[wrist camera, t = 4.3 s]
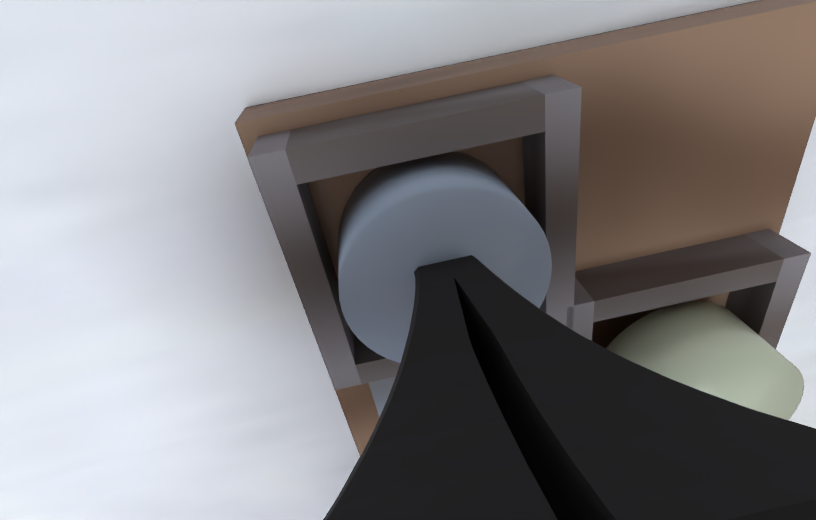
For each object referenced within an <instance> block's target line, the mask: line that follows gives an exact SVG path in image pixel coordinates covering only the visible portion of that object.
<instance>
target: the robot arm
mask: <svg viewBox="0 0 816 520" xmlns="http://www.w3.org/2000/svg"><path fill="white" fill-rule="evenodd" d="M414 275H415V298H414V307H413V312H412V318H411V324H410V329H409V333H408V337H407V341H406V344H405V348H404V352H403V356H402V359H401V362H400V366H399V369H398V372H397V375H396V378H395V380H394V383H393V386H392V388H391V391H390V394H389V396H388V399H387V401H386V404H385V406H384V408H383V410H382V413H381V415H380V417H379V420H378V422H377V424H376V426H375V429H374V431H373V433H372V435H371V437H370V439H369V441H368V443H367V445H366V447H365V449H364V451H363V453H362V454H361V456H360V458H359V460H358V462H357V463H356V465H355V467H354V469H353V471H352V472H351V474H350V476H349V478H348V480H347V482H346V483H345V485H344V487H343V489H342V491H341V492H340V494H339V496H338V497H337V499H336V501H335V502H334V504H333V506H332V507H331V509H330V510H329V512H328V513H327V515H326V516H325V518H324V519H323V520H816V429H815V428H811V427H808V426H805V425H802V424H798V423H795V422H792V421H789V420H785V419H782V418H779V417H776V416H772V415H769V414H766V413H763V412H759V411H756V410H753V409H750V408H747V407H744V406H741V405H738V404H736V403H733V402H730V401H727V400H725V399H722V398H719V397H717V396H714V395H711V394H708V393H706V392H703V391H700V390H697V389H695V388H692V387H690V386H687V385H685V384H682V383H680V382H677V381H675V380H672V379H670V378H668V377H665V376H663V375H661V374H659V373H656V372H654V371H652V370H650V369H647V368H645V367H643V366H641V365H638V364H636V363H634V362H632V361H630V360H628V359H625V358H623V357H621V356H619V355H617V354H615V353H613V352H611V351H609V350H607V349H606V348H604V347H602V346H600V345H598V344H596V343H594V342H593V341H591V340H589V339H587V338H585V337H583V336H581V335H580V334H578V333H576V332H575V331H573V330H571V329H570V328H568V327H567V326H565V325H563V324H562V323H560V322H559V321H557V320H556V319H554V318H553V317H551V316H550V315H548V314H547V313H545V312H544V311H542V310H541V309H539V308H538V307H537V306H535V305H534V304H533V303H531V302H530V301H528V300H527V299H526V298H524V297H523V296H522V295H520V294H519V293H518V292H516V291H515V290H514V289H512V288H511V287H510V286H509V285H507V284H506V283H505V282H504V281H503V280H501V279H500V278H499V277H498V276H496V275H495V274H494V273H493V272H492V271H491V270H489V269H488V268H487V267H486V266H485V265H484V264H483V263H481V262H480V261H479V260H478V259H477V258H475V257H474V256H472V255H470V256H465V257H461V258H456V259H452V260H447V261H442V262H438V263H433V264H429V265H424V266H420V267H418V268H417V269H416V270H415V271H414Z"/></svg>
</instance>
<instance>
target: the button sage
mask: <svg viewBox="0 0 816 520" xmlns="http://www.w3.org/2000/svg"><path fill="white" fill-rule="evenodd" d="M606 349H607V350H609V351H611V352H613V353H615V354H617V355H619V356H621V357H623V358H625V359H628V360H630V361H632V362H634V363H636V364H638V365H641V366H643V367H645V368H647V369H650V370H652V371H654V372H656V373H659V374H661V375H663V376H665V377H668V378H670V379H672V380H675V381H677V382H680V383H682V384H685V385H687V386H690V387H692V388H695V389H697V390H700V391H703V392H706V393H708V394H711V395H714V396H717V397H719V398H722V399H725V400H727V401H730V402H733V403H736V404H738V405H741V406H744V407H747V408H750V409H753V410H756V411H759V412H763V413H766V414H769V415H772V416H776V417H779V418H782V419H785V420H789V419H790V418H791V416H792V415H793V413H794V412H795V411H796V409H797V407H798V405H799V403H800V401H801V398H802V396H803V391H804V380H803V377H802V374H801V372H800V371H799V369H798V368H797V367H796V366H795V365H793V364H792V363H791V362H790V361H789V360H788V359H786V358H785V357H784V356H783V355H782V354H780V353H779V352H778V351H777V350H776V349H774V348H773V347H772V346H771V345H770V344H769V343H767V342H766V341H765V340H764V339H763V338H761V337H760V336H759V335H758V334H757V333H756V332H754V331H753V330H752V329H751V328H750V327H748V326H747V325H746V324H745V323H744V322H743V321H741V320H740V319H739V318H738V317H737V316H735V315H734V314H733V313H732V312H731V311H730V310H728V309H727V308H725V307H723V306H721V305H718V304H716V303H711V302H703V301H693V302H684V303H678V304H674V305H670V306H667V307H664V308H661V309H659V310H656V311H654V312H652V313H650V314H648V315H646V316H644V317H642V318H641V319H639V320H637V321H636V322H634V323H633V324H631V325H630V326H628V327H627V328H626V329H625V330H623V331H622V332H621V333H620V334H619V335H618V336H617V337H616V338H615V339H614V340H613V341H612V342H611V343H610V344H609V345H608V347H607V348H606Z"/></svg>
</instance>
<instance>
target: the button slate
mask: <svg viewBox="0 0 816 520" xmlns="http://www.w3.org/2000/svg"><path fill="white" fill-rule="evenodd" d="M470 255H472V256H474V257H475V258H477V259H478V260H479V261H480V262H481V263H483V264H484V265H485V266H486V267H487V268H488V269H489V270H491V271H492V272H493V273H494V274H495V275H496V276H498V277H499V278H500V279H501V280H503V281H504V282H505V283H506V284H507V285H509V286H510V287H511V288H512V289H514V290H515V291H516V292H518V293H519V294H520V295H522V296H523V297H524V298H526V299H527V300H528V301H530V302H531V303H533V304H534V305H535V306H537V307H538V308H540V306H541V304H542V303H543V301H544V299H545V296H546V293H547V291H548V288H549V284H550V279H551V272H552V259H551V251H550V247H549V243H548V240H547V238H546V236H545V233H544V231H543V230H542V228H541V227H540V225H539V223H538V222H537V221H536V219H535V218H534V217H533V216H532V215H531V213H530V212H529V211H528V210H527V209H526V207H525V206H524V205H523V204H522V202H521V201H520V200H519V199H518V198H517V196H516V195H515V194H514V193H513V192H512V190H511V189H510V188H509V187H508V186H507V184H506V183H505V182H504V181H503V180H502V178H501V177H500V176H499V175H498V174H497V173H496V172H495V171H494V170H493V169H491V168H490V167H489V166H488V165H486V164H484V163H483V162H481V161H479V160H478V159H476V158H473V157H471V156H468V155H466V154H462V153H458V152H454V151H453V152H448V153H443V154H438V155H434V156H429V157H424V158H420V159H415V160H410V161H406V162H401V163H396V164H392V165H387V166H382V167H379V168H378V169H376V170H375V171H374V172H372V173H371V174H370V175H368V176H367V177H366V178H365V179H364V180H363V181H362V182H361V183H360V184H359V186H358V187H357V188H356V190H355V191H354V192H353V193H352V195H351V197H350V199H349V200H348V202H347V204H346V206H345V208H344V211H343V213H342V216H341V221H340V225H339V234H338V273H339V301H340V305H341V309H342V313H343V315H344V317H345V320H346V322H347V324H348V325H349V327H350V329H351V330H352V332H353V333H354V334H355V335H356V336H357V338H358V339H359V340H360V341H361V342H362V343H363V344H365V345H366V346H367V347H368V348H370V349H371V350H373V351H374V352H376V353H377V354H379V355H381V356H383V357H385V358H387V359H390V360H392V361H395V362H398V363H400V362H401V359H402V356H403V352H404V348H405V344H406V341H407V337H408V333H409V329H410V324H411V318H412V312H413V307H414V298H415V275H414V271H415V270H416V269H417V268H418V267H420V266H424V265H429V264H433V263H438V262H442V261H447V260H452V259H456V258H461V257H465V256H470Z"/></svg>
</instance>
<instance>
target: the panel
mask: <svg viewBox="0 0 816 520" xmlns="http://www.w3.org/2000/svg"><path fill="white" fill-rule="evenodd" d="M815 117H816V0H759V1H755V2H750V3H745V4H740V5H735V6H731V7H726V8H721V9H716V10H711V11H707V12H702V13H697V14H692V15H688V16H683V17H678V18H673V19H668V20H664V21H659V22H654V23H649V24H644V25H640V26H635V27H630V28H625V29H621V30H616V31H611V32H606V33H601V34H597V35H592V36H587V37H582V38H577V39H573V40H568V41H563V42H558V43H553V44H549V45H544V46H539V47H534V48H530V49H525V50H520V51H515V52H510V53H506V54H501V55H496V56H491V57H486V58H482V59H477V60H472V61H467V62H463V63H458V64H453V65H448V66H443V67H439V68H434V69H429V70H424V71H419V72H415V73H410V74H405V75H400V76H396V77H391V78H386V79H381V80H376V81H372V82H367V83H362V84H357V85H352V86H348V87H343V88H338V89H333V90H328V91H324V92H319V93H314V94H309V95H305V96H300V97H295V98H290V99H285V100H281V101H276V102H271V103H266V104H261V105H257V106H252V107H247V108H245V109H244V111H243V112H242V114H241V115H240V117H239V118H238V119H237V121H236V122H235V125H236V128H237V131H238V133H239V136H240V139H241V141H242V144H243V147H244V149H245V152H246V155H247V158H248V161H249V164H250V166H251V169H252V172H253V174H254V177H255V180H256V182H257V185H258V187H259V190H260V193H261V195H262V198H263V201H264V203H265V206H266V209H267V211H268V214H269V217H270V219H271V222H272V225H273V227H274V230H275V233H276V235H277V238H278V240H279V243H280V246H281V248H282V251H283V254H284V256H285V259H286V262H287V264H288V267H289V270H290V272H291V275H292V278H293V280H294V283H295V285H296V288H297V291H298V293H299V296H300V299H301V301H302V304H303V307H304V309H305V312H306V315H307V317H308V320H309V323H310V325H311V328H312V331H313V333H314V336H315V338H316V341H317V344H318V346H319V349H320V352H321V354H322V357H323V360H324V362H325V365H326V368H327V370H328V373H329V376H330V378H331V381H332V384H333V386H334V389H335V391H336V393H337V396H338V399H339V401H340V404H341V407H342V409H343V412H344V415H345V417H346V420H347V423H348V425H349V428H350V431H351V433H352V436H353V439H354V441H355V444H356V447H357V449H358V452H359V454H360V456H361V454H362V453H363V451H364V449H365V447H366V445H367V443H368V441H369V439H370V437H371V435H372V433H373V431H374V429H375V426H376V424H377V422H378V420H379V417H380V415H381V413H382V410H383V408H384V406H385V404H386V401H387V399H388V396H389V394H390V391H391V388H392V386H393V383H394V380H395V378H396V375H397V372H398V369H399V366H400V363H398V362H395V361H392V360H390V359H387V358H385V357H383V356H381V355H379V354H377V353H376V352H374V351H373V350H371V349H370V348H368V347H367V346H366V345H365V344H363V343H362V342H361V341H360V340H359V339H358V338H357V336H356V335H355V334H354V333H353V332H352V330H351V329H350V327H349V325H348V324H347V322H346V320H345V317H344V315H343V313H342V309H341V305H340V301H339V273H338V234H339V225H340V221H341V216H342V213H343V211H344V208H345V206H346V204H347V202H348V200H349V199H350V197H351V195H352V193H353V192H354V191H355V190H356V188H357V187H358V186H359V184H360V183H361V182H362V181H363V180H364V179H365V178H366V177H367V176H368V175H370V174H371V173H372V172H374V171H375V170H376V169H378V168H379V167H382V166H387V165H392V164H396V163H401V162H406V161H410V160H415V159H420V158H424V157H429V156H434V155H438V154H443V153H448V152H453V151H454V152H458V153H462V154H466V155H468V156H471V157H473V158H476V159H478V160H479V161H481V162H483V163H484V164H486V165H488V166H489V167H490V168H491V169H493V170H494V171H495V172H496V173H497V174H498V175H499V176H500V177H501V178H502V180H503V181H504V182H505V183H506V184H507V186H508V187H509V188H510V189H511V190H512V192H513V193H514V194H515V195H516V196H517V198H518V199H519V200H520V201H521V202H522V204H523V205H524V206H525V207H526V209H527V210H528V211H529V212H530V213H531V215H532V216H533V217H534V218H535V219H536V221H537V222H538V223H539V225H540V227H541V228H542V230H543V231H544V233H545V236H546V238H547V240H548V243H549V247H550V251H551V259H552V272H551V279H550V284H549V288H548V291H547V293H546V296H545V299H544V301H543V303H542V304H541V306H540V308H539V309H541V310H542V311H544V312H545V313H547V314H548V315H550V316H551V317H553V318H554V319H556V320H557V321H559V322H560V323H562V324H563V325H565V326H567V327H568V328H570V329H571V330H573V331H575V332H576V333H578V334H580V335H581V336H583V337H585V338H587V339H589V340H591V341H593V342H594V343H596V344H598V345H600V346H602V347H604V348H607V347H608V345H609V344H610V343H611V342H612V341H613V340H614V339H615V338H616V337H617V336H618V335H619V334H620V333H621V332H622V331H623V330H625V329H626V328H627V327H628V326H630V325H631V324H633V323H634V322H636V321H637V320H639V319H641V318H642V317H644V316H646V315H648V314H650V313H652V312H654V311H656V310H659V309H661V308H664V307H667V306H670V305H674V304H678V303H684V302H693V301H703V302H711V303H716V304H718V305H721V306H723V307H725V308H727V309H728V310H730V311H731V312H732V313H733V314H734V315H735V316H737V317H738V318H739V319H740V320H741V321H743V322H744V323H745V324H746V325H747V326H748V327H750V328H751V329H752V330H753V331H754V332H756V333H757V334H758V335H759V336H760V337H761V338H763V339H764V340H765V341H766V342H767V343H769V344H770V345H771V346H772V347H773V348H774V349H776V347H777V344H778V342H779V339H780V336H781V333H782V331H783V328H784V325H785V323H786V320H787V317H788V314H789V312H790V309H791V306H792V303H793V301H794V298H795V295H796V293H797V290H798V287H799V284H800V282H801V279H802V276H803V274H804V271H805V268H806V265H807V263H808V260H809V257H810V254H811V253H810V252H808V251H807V250H805V249H803V248H802V247H800V246H798V245H796V244H795V243H793V242H791V241H789V240H788V239H786V238H784V237H783V236H781V235H779V232H780V229H781V225H782V222H783V219H784V216H785V213H786V209H787V206H788V203H789V200H790V197H791V193H792V190H793V187H794V184H795V181H796V177H797V174H798V171H799V168H800V165H801V162H802V158H803V155H804V152H805V149H806V146H807V142H808V139H809V136H810V133H811V130H812V126H813V123H814V120H815Z"/></svg>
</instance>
